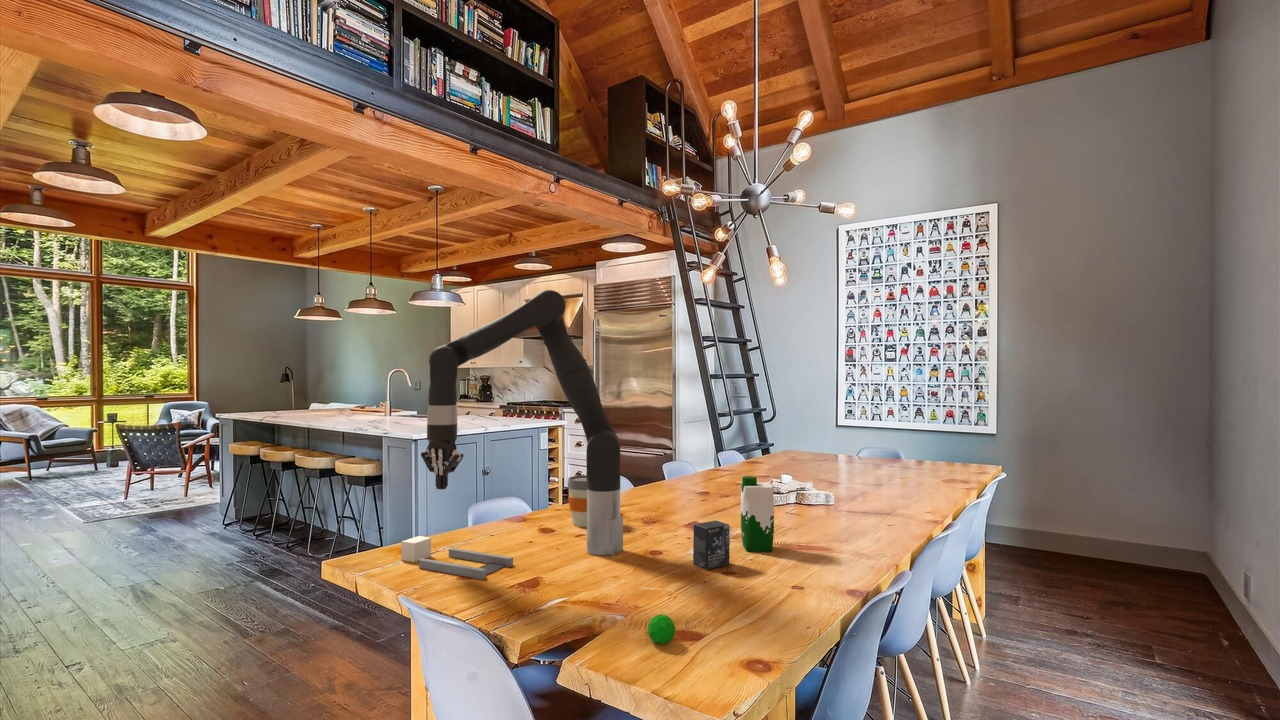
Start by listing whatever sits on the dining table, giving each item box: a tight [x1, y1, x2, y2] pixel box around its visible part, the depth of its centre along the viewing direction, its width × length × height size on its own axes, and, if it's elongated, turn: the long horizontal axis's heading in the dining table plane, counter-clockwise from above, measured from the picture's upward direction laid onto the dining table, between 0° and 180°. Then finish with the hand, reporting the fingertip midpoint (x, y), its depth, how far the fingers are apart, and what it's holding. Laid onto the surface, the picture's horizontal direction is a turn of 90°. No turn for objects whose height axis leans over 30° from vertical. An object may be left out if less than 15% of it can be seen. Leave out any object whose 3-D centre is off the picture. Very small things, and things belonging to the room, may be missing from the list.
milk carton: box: [740, 475, 775, 553], centre depth 169 cm, size 9×9×20 cm
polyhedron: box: [647, 614, 676, 646], centre depth 109 cm, size 5×5×5 cm
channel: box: [418, 547, 514, 580], centre depth 152 cm, size 20×12×2 cm, turn 65°
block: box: [400, 535, 432, 563], centre depth 160 cm, size 4×6×5 cm
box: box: [692, 520, 731, 571], centre depth 154 cm, size 8×6×11 cm
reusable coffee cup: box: [567, 474, 587, 528], centre depth 197 cm, size 13×13×15 cm
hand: (441, 488), depth 156 cm, fingers closed
